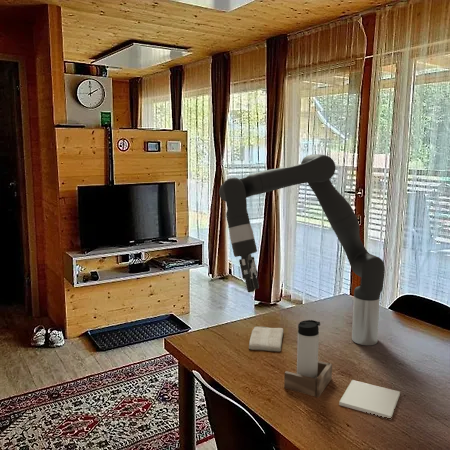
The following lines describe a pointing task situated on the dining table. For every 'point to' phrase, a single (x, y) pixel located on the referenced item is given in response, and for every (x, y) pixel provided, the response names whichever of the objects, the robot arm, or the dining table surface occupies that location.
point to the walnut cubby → (309, 380)
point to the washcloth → (266, 339)
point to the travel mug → (308, 348)
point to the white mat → (370, 399)
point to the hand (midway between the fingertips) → (253, 290)
